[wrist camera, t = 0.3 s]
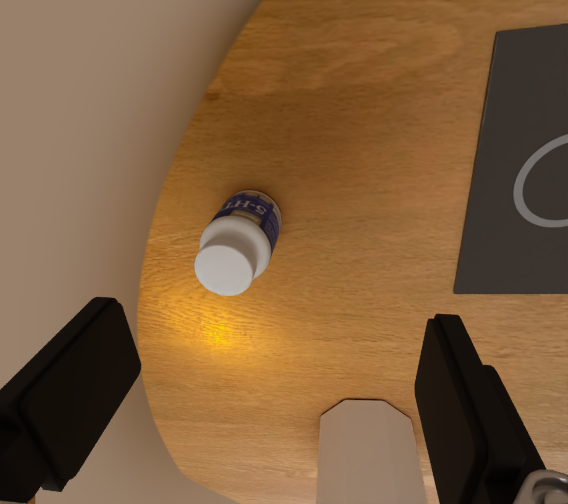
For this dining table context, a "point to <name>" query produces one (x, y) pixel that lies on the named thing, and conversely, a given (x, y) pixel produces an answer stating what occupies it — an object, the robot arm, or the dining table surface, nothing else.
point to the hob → (520, 171)
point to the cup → (368, 456)
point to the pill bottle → (238, 243)
